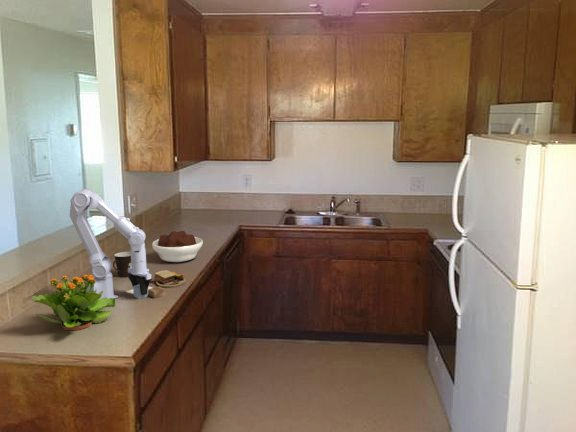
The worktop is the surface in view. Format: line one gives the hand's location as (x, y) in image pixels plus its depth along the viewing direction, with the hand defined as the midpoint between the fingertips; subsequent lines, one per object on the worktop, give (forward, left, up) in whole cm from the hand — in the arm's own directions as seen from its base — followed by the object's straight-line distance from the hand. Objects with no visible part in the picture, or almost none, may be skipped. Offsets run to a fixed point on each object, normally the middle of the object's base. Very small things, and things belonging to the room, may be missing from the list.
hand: (140, 293), depth 213 cm
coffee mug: (+9, +31, -2) cm, 32 cm away
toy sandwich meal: (+18, +6, -2) cm, 19 cm away
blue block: (0, 0, -2) cm, 2 cm away
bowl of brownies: (+42, +36, -2) cm, 56 cm away
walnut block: (+5, -4, -2) cm, 7 cm away
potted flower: (-32, -11, -2) cm, 34 cm away
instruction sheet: (+4, +7, -1) cm, 8 cm away
